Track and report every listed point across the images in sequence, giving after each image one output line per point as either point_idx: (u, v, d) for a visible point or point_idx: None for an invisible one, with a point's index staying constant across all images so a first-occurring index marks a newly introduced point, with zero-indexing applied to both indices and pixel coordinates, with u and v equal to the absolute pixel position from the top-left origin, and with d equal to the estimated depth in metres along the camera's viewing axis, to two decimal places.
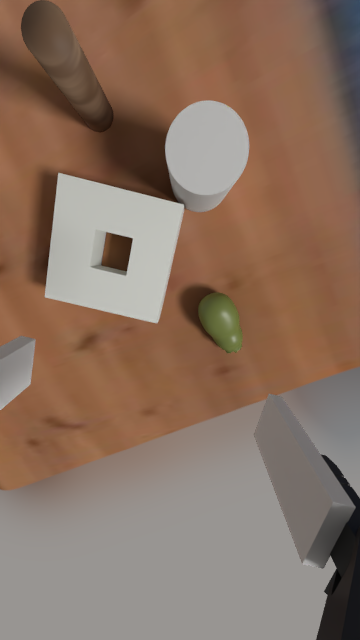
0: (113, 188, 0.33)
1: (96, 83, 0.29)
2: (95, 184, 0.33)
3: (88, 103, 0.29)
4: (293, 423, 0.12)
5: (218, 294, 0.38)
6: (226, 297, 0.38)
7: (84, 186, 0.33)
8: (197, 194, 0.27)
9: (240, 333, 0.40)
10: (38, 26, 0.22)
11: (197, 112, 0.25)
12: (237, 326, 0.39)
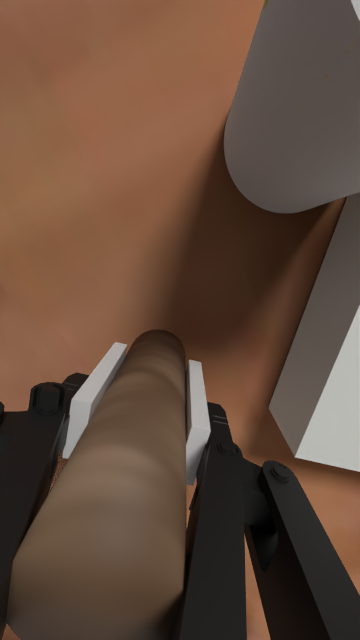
0: (345, 347, 0.14)
1: (143, 374, 0.12)
2: (330, 386, 0.14)
3: (181, 395, 0.12)
4: (197, 379, 0.14)
5: None
6: None
7: (330, 410, 0.14)
8: None
9: None
10: (81, 625, 0.06)
11: None
12: None
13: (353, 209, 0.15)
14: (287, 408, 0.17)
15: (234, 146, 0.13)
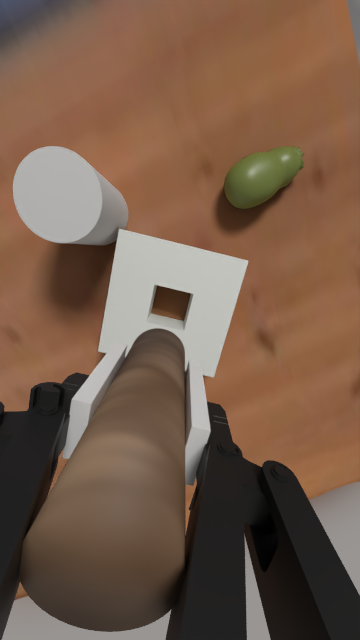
0: (108, 301, 0.34)
1: (145, 369, 0.13)
2: (105, 318, 0.34)
3: (181, 389, 0.13)
4: (197, 379, 0.14)
5: (226, 182, 0.32)
6: (230, 171, 0.31)
7: (108, 329, 0.35)
8: (102, 207, 0.25)
9: (277, 149, 0.31)
10: (90, 590, 0.06)
11: (25, 208, 0.25)
12: (268, 153, 0.30)
13: None
14: None
15: None
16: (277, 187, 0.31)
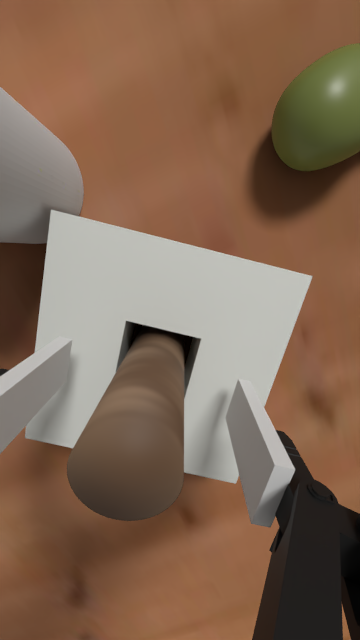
0: None
1: (151, 348, 0.15)
2: None
3: (181, 365, 0.16)
4: (255, 403, 0.13)
5: (280, 112, 0.16)
6: (290, 87, 0.15)
7: None
8: None
9: None
10: (117, 487, 0.09)
11: None
12: None
13: None
14: None
15: None
16: None
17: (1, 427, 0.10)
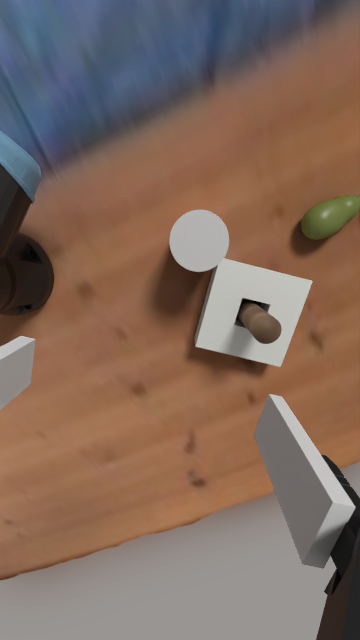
0: (206, 309, 0.46)
1: (255, 306, 0.44)
2: (203, 322, 0.46)
3: None
4: (293, 423, 0.12)
5: (305, 221, 0.44)
6: (309, 213, 0.43)
7: (204, 330, 0.47)
8: (227, 248, 0.37)
9: (343, 197, 0.43)
10: (264, 334, 0.37)
11: (176, 248, 0.37)
12: (337, 201, 0.42)
13: (214, 267, 0.48)
14: (197, 334, 0.50)
15: None
16: None
17: None
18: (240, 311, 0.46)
